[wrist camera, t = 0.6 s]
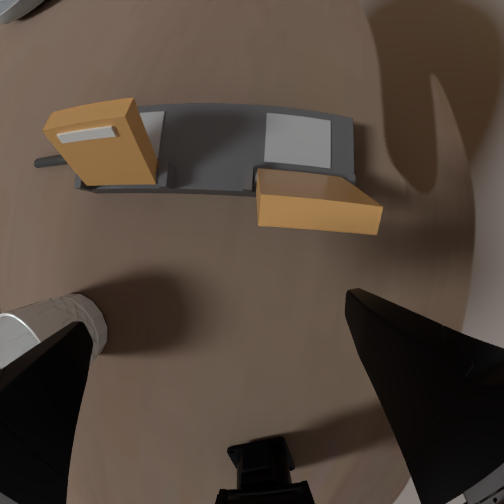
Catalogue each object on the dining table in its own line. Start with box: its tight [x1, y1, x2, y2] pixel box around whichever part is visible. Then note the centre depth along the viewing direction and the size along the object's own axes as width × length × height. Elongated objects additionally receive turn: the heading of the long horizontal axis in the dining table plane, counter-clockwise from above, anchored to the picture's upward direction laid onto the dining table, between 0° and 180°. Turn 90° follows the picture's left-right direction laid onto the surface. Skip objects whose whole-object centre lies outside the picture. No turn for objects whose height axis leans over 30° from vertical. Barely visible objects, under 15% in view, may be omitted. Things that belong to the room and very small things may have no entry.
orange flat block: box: [253, 168, 383, 235], centre depth 16 cm, size 2×6×8 cm, turn 87°
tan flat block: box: [42, 97, 160, 186], centre depth 15 cm, size 2×6×8 cm, turn 86°
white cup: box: [0, 294, 107, 369], centre depth 18 cm, size 8×8×10 cm
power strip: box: [34, 103, 355, 197], centre depth 20 cm, size 7×31×5 cm, turn 87°
